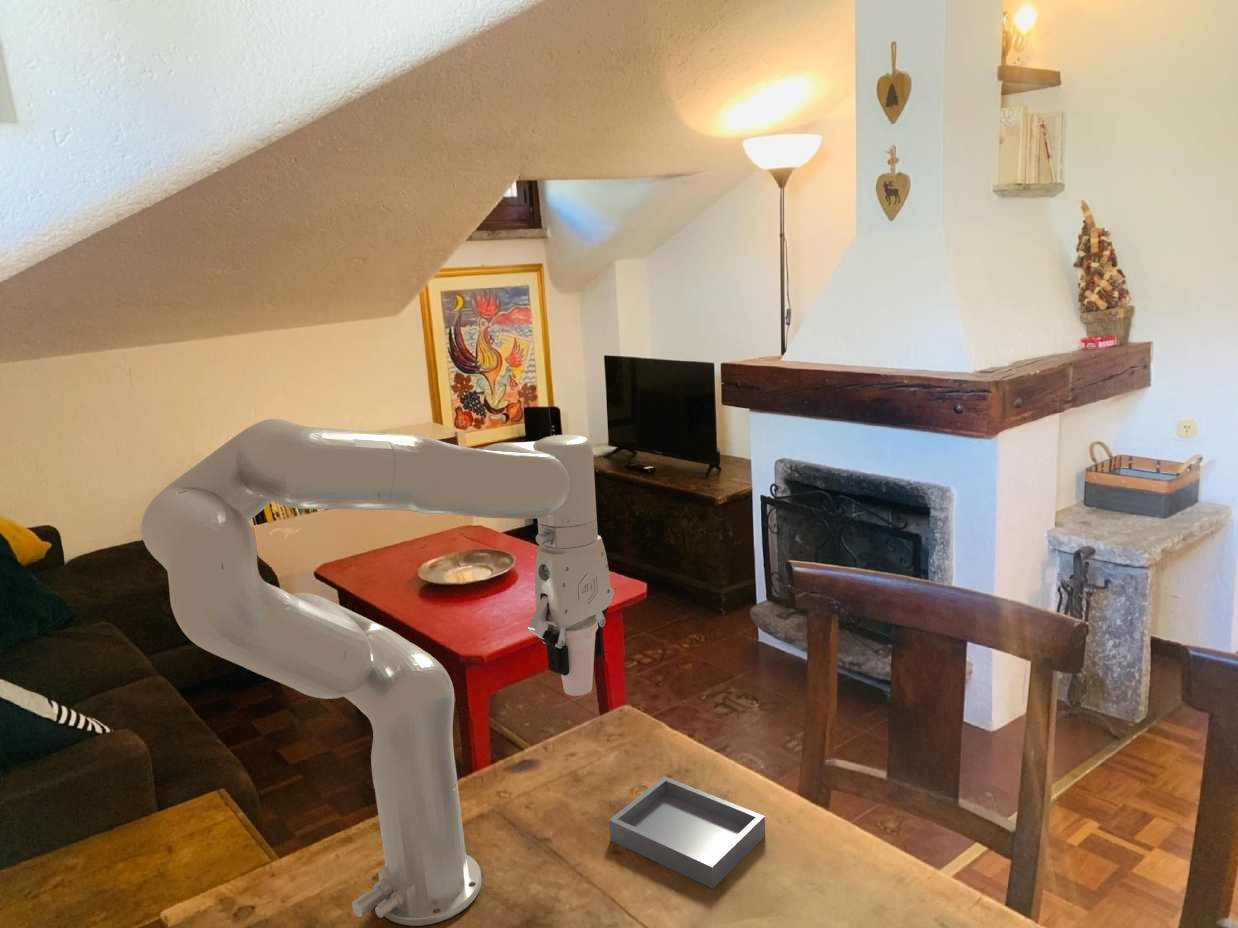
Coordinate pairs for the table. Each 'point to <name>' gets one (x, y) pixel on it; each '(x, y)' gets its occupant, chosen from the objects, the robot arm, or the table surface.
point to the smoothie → (580, 656)
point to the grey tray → (688, 830)
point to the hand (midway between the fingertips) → (576, 661)
